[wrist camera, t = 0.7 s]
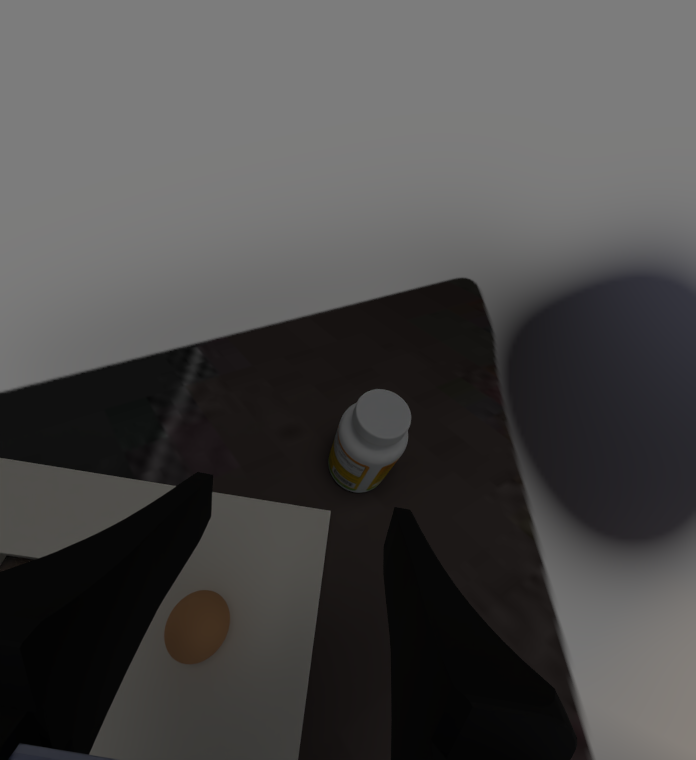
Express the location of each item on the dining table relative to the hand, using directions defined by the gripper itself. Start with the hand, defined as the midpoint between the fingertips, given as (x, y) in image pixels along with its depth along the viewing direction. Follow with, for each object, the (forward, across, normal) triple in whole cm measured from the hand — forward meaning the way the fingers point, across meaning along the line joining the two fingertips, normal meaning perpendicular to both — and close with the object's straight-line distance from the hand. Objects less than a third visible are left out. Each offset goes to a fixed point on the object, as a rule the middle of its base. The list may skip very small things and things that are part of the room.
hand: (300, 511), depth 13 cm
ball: (+3, +5, +12) cm, 13 cm away
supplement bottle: (+16, -3, +8) cm, 19 cm away
